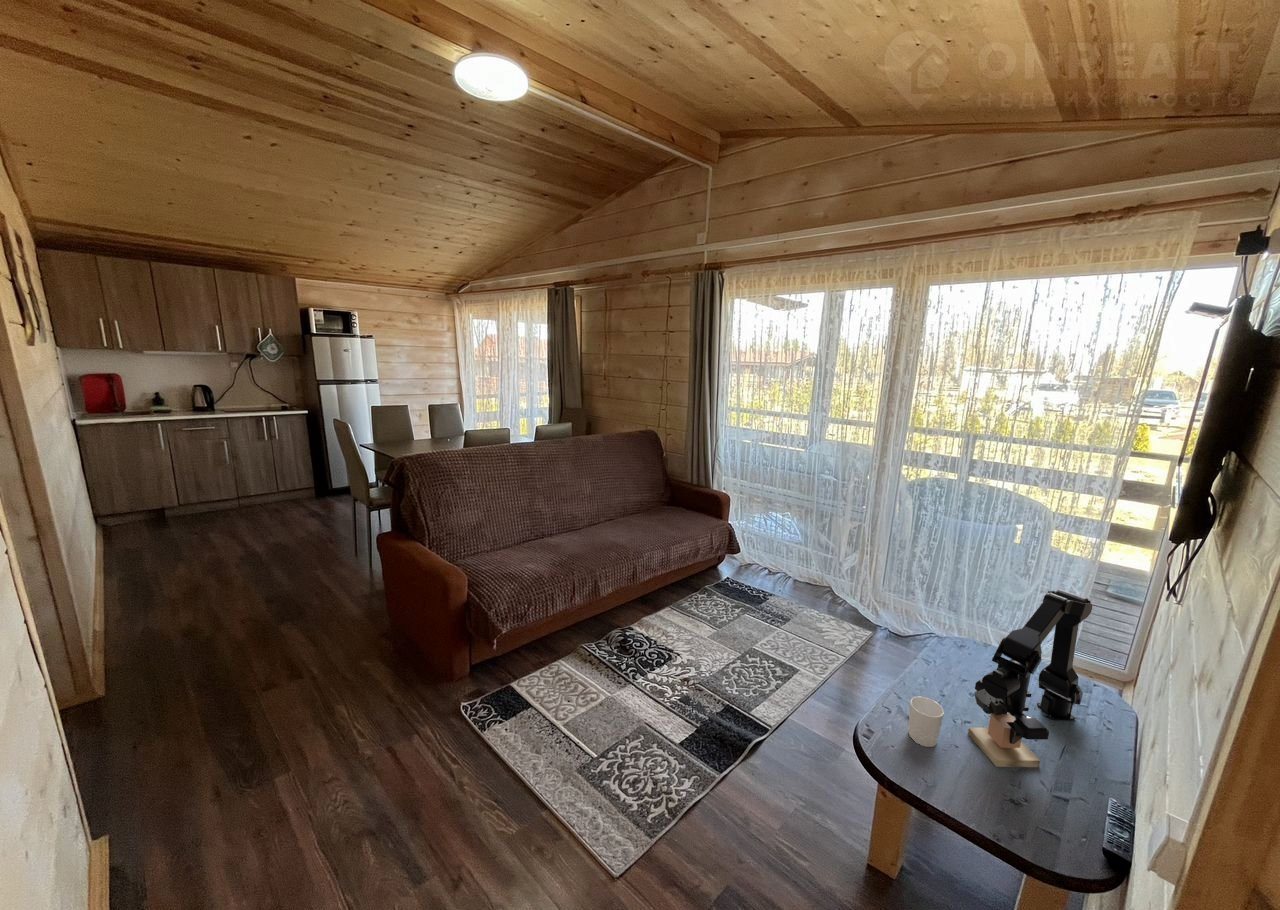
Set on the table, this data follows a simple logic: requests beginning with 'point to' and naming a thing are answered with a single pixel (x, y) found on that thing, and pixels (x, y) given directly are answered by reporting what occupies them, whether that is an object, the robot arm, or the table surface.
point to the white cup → (925, 721)
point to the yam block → (1002, 730)
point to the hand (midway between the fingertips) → (1004, 735)
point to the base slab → (1003, 751)
